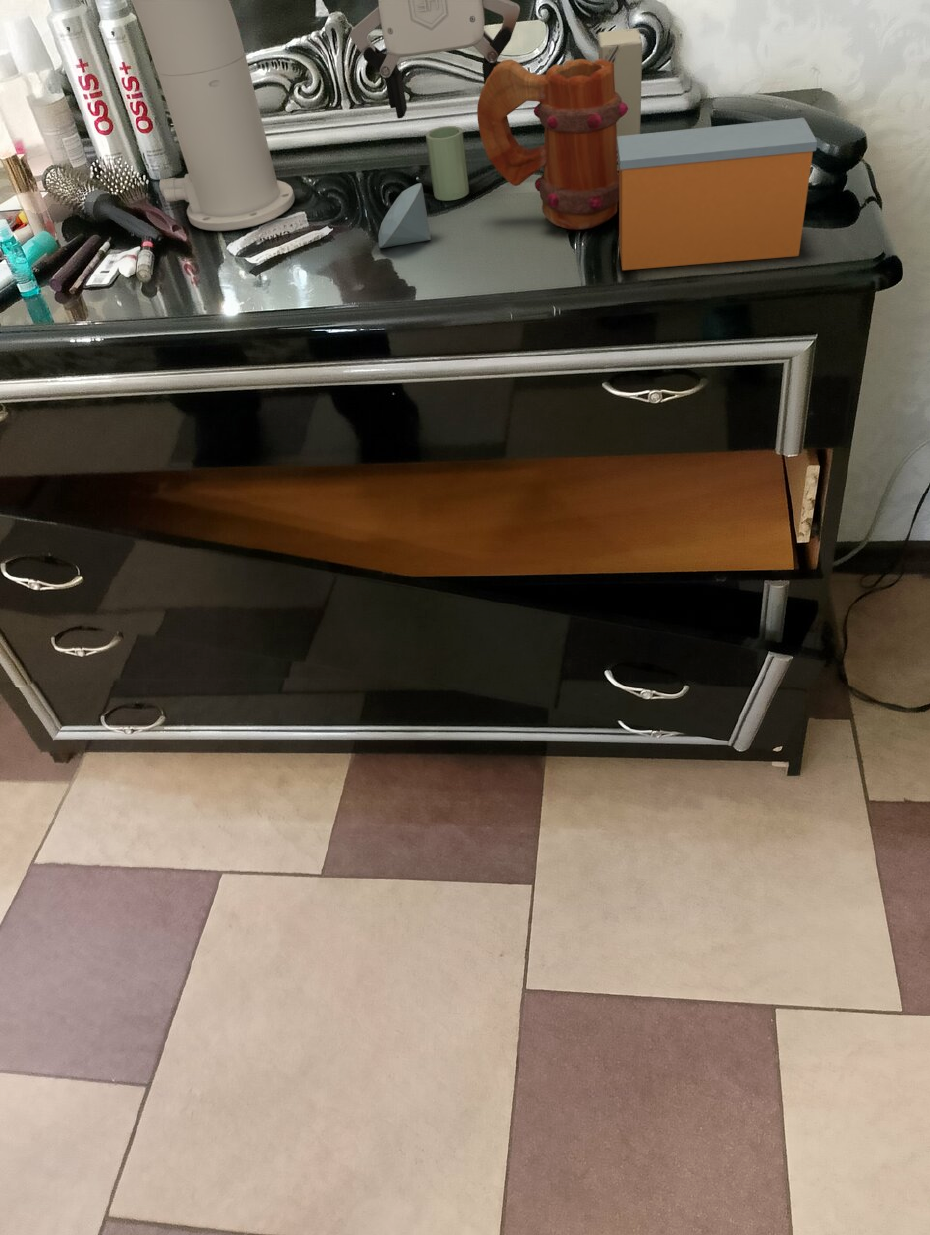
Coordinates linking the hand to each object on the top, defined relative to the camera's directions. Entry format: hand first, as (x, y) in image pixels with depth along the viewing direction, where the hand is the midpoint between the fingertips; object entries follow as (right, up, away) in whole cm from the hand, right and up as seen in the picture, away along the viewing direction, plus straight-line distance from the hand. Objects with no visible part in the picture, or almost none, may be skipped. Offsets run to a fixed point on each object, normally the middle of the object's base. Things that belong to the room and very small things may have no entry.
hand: (446, 108), depth 100 cm
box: (+20, -3, +7) cm, 21 cm away
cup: (0, -6, +6) cm, 9 cm away
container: (+25, -20, -11) cm, 34 cm away
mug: (+12, -13, -2) cm, 18 cm away
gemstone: (-4, -15, -1) cm, 16 cm away
